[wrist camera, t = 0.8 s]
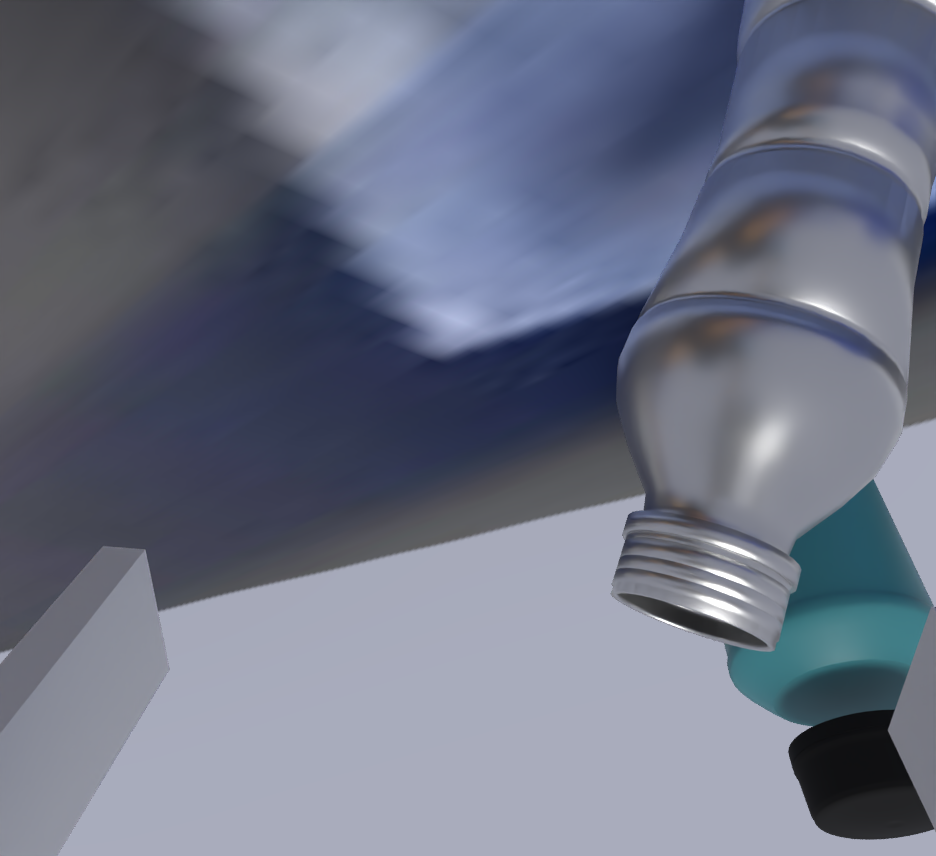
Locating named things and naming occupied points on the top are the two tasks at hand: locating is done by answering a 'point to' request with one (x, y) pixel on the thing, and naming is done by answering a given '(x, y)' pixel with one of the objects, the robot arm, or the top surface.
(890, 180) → the silver metal bottle
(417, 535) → the top surface
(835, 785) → the beverage bottle
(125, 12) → the top surface
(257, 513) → the top surface
